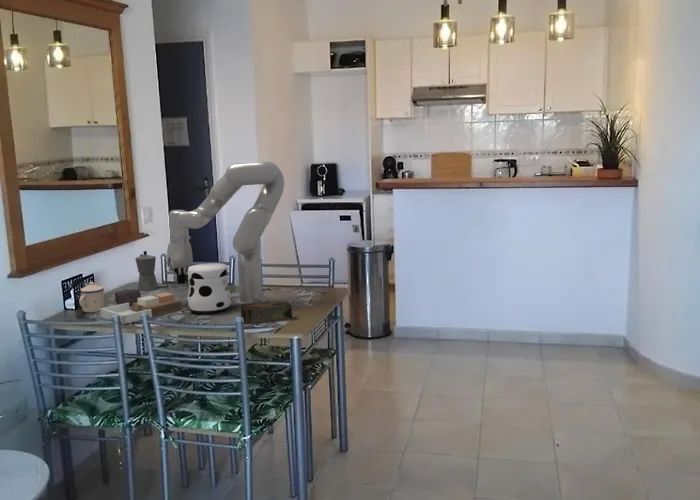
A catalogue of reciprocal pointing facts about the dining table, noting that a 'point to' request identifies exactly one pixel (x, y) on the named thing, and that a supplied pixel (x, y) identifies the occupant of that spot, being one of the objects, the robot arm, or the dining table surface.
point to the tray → (123, 313)
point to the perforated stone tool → (127, 296)
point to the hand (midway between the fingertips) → (181, 283)
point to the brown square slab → (159, 307)
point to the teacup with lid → (92, 298)
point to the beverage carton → (266, 311)
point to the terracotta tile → (165, 297)
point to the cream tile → (148, 301)
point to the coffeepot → (146, 272)
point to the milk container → (208, 288)
